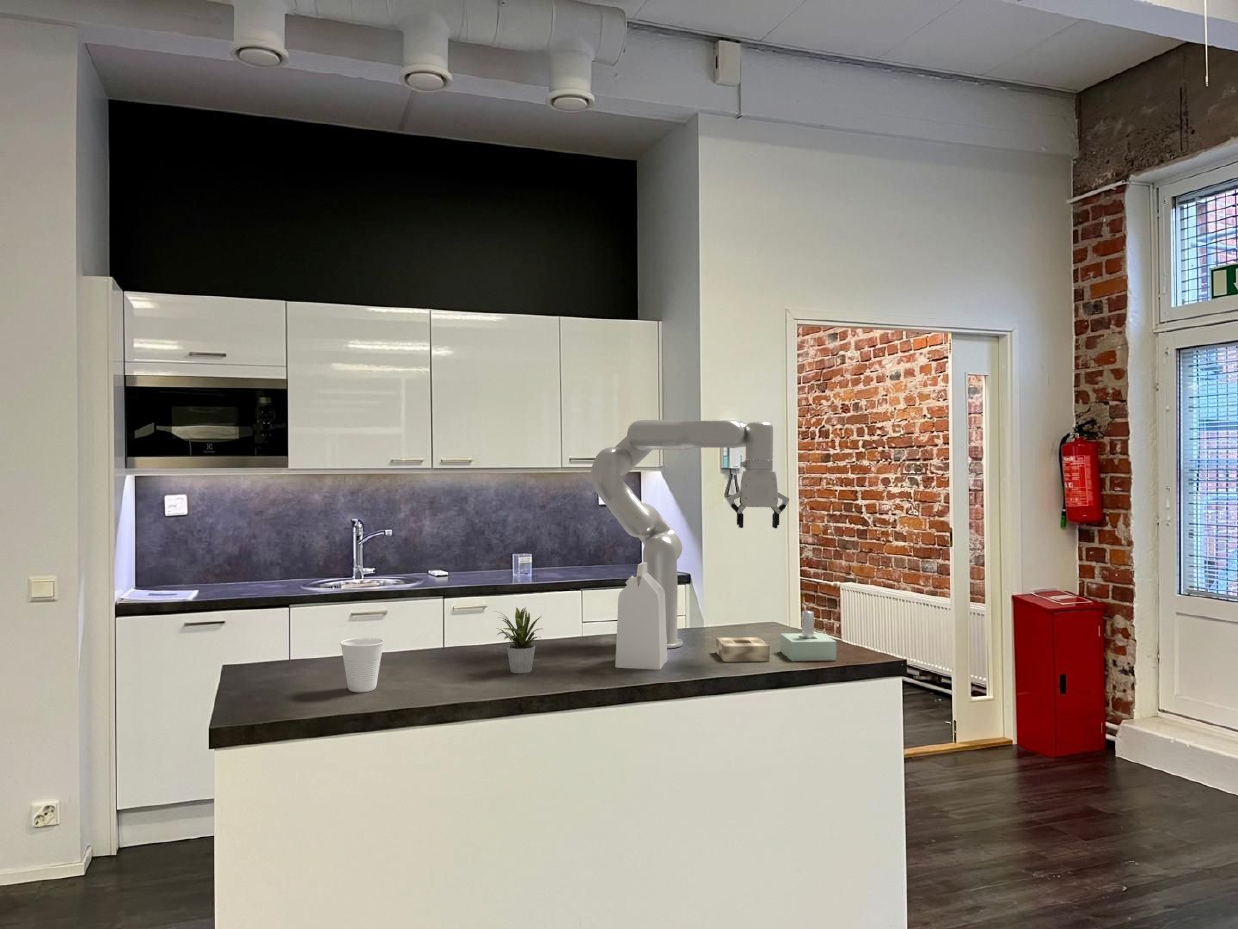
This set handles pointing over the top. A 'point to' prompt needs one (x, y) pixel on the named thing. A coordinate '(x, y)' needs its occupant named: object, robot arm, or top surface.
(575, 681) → the top surface
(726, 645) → the mount
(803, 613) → the pin
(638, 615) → the milk
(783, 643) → the socket
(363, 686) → the cup
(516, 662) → the house plant
